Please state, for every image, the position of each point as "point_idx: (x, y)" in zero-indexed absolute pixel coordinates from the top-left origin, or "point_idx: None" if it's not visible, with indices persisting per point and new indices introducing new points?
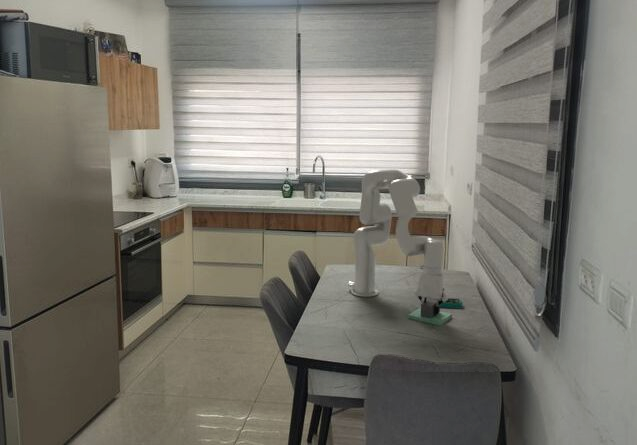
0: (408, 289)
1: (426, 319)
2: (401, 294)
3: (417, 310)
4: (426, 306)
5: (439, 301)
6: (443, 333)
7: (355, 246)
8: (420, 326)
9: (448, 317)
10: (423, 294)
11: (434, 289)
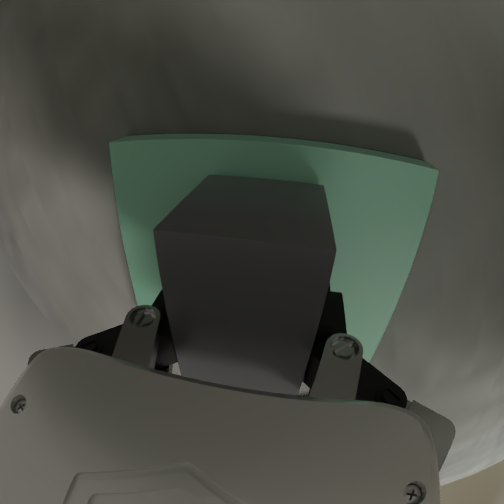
0: None
1: (242, 140)
2: None
3: (382, 308)
4: (235, 229)
5: (106, 354)
6: (67, 26)
7: None
8: (252, 15)
9: (136, 283)
10: (319, 443)
11: (34, 500)
